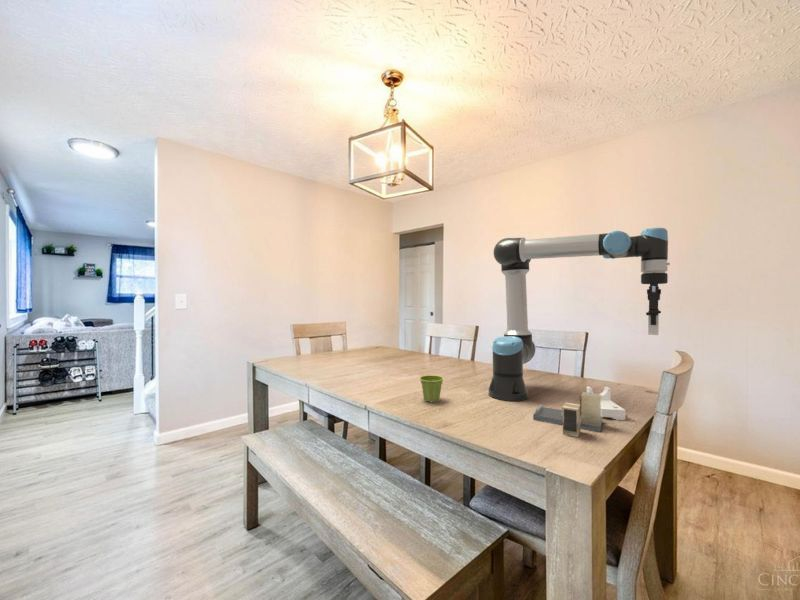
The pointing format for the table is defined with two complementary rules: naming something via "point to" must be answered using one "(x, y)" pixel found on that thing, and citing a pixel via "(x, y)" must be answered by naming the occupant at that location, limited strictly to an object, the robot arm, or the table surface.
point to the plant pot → (431, 387)
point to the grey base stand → (588, 413)
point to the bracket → (609, 405)
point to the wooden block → (571, 419)
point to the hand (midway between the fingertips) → (653, 333)
